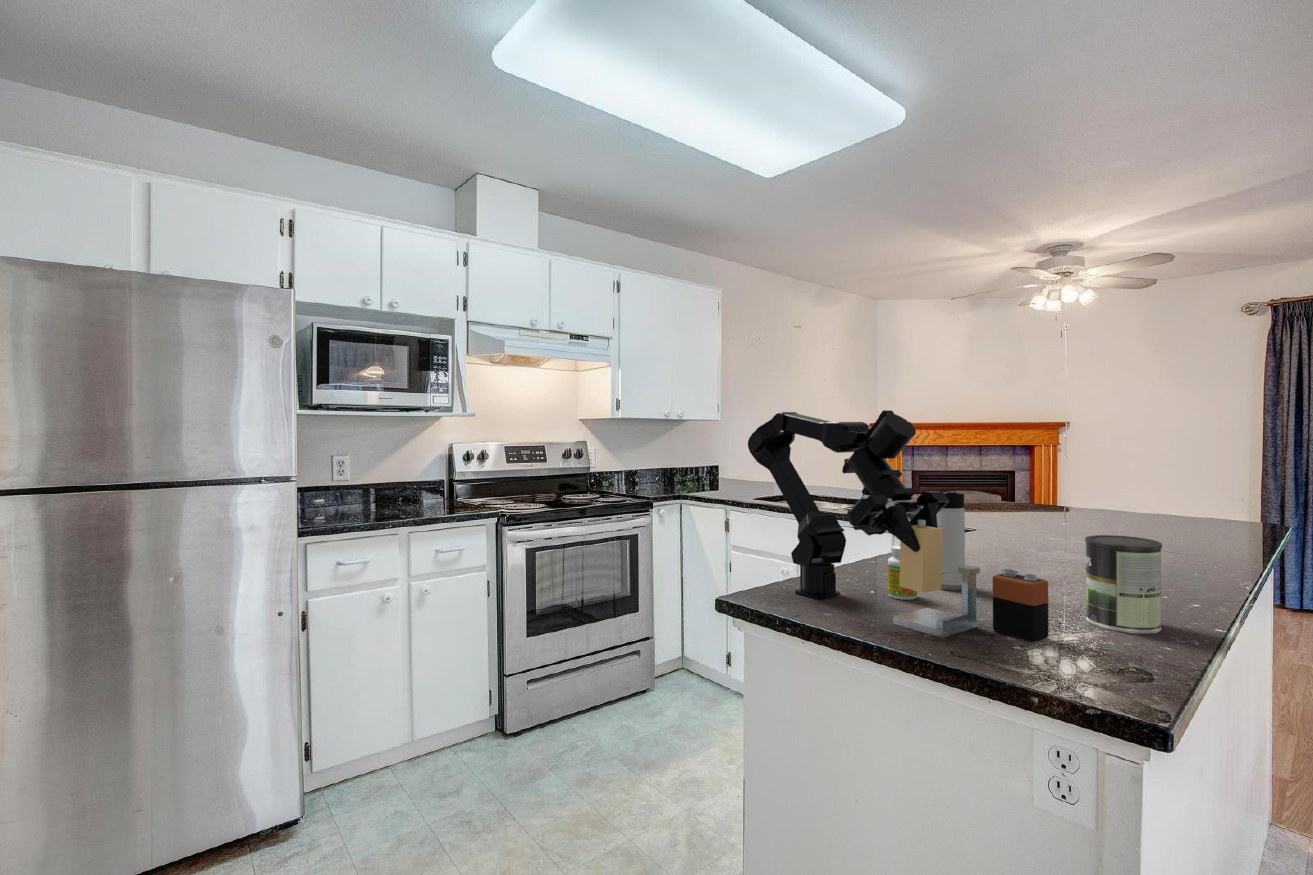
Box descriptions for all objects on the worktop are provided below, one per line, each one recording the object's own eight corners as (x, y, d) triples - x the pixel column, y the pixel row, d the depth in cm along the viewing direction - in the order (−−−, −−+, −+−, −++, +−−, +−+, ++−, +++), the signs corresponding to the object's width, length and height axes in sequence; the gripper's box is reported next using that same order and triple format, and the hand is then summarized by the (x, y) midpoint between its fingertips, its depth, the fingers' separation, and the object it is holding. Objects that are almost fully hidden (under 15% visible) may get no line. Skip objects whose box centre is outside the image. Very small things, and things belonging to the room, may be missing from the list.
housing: (899, 586, 105) (901, 519, 105) (918, 583, 107) (919, 517, 107) (922, 592, 101) (923, 522, 101) (941, 589, 103) (942, 521, 103)
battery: (1007, 627, 105) (1007, 566, 105) (1049, 638, 99) (1049, 574, 99) (991, 631, 103) (990, 569, 103) (1033, 643, 97) (1032, 577, 97)
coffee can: (1078, 625, 105) (1078, 540, 105) (1093, 612, 113) (1092, 533, 112) (1157, 639, 98) (1156, 548, 98) (1166, 624, 105) (1166, 539, 105)
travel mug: (936, 590, 128) (936, 492, 128) (928, 583, 135) (927, 489, 135) (969, 591, 127) (969, 492, 127) (959, 584, 134) (959, 489, 134)
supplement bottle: (884, 597, 124) (884, 548, 123) (891, 591, 128) (891, 544, 128) (913, 601, 121) (913, 550, 120) (919, 595, 125) (919, 546, 125)
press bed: (893, 623, 107) (892, 564, 107) (927, 614, 112) (927, 558, 112) (945, 638, 99) (945, 575, 99) (980, 627, 104) (979, 567, 104)
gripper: (888, 502, 122) (936, 571, 112) (814, 506, 113) (859, 582, 104) (923, 464, 115) (978, 534, 105) (847, 465, 106) (898, 542, 97)
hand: (928, 549), depth 103 cm, fingers closed on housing, 4 cm apart
